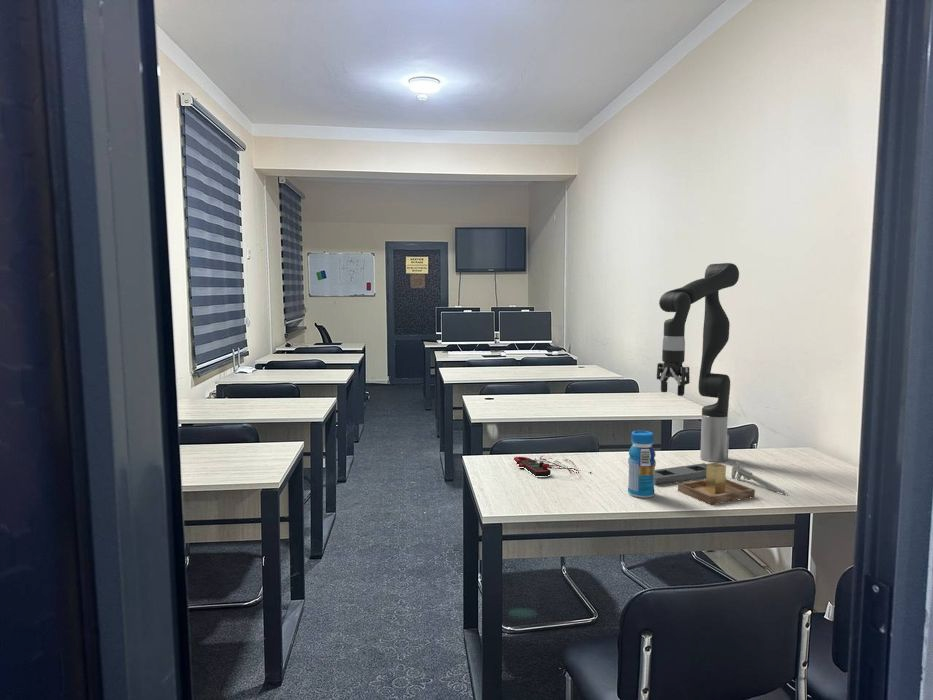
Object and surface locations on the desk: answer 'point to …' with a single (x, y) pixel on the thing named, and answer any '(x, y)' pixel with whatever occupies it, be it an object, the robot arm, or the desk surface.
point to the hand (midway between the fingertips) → (672, 393)
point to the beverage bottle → (641, 465)
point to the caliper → (753, 478)
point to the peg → (715, 477)
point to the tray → (731, 493)
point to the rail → (680, 474)
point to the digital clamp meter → (538, 466)
